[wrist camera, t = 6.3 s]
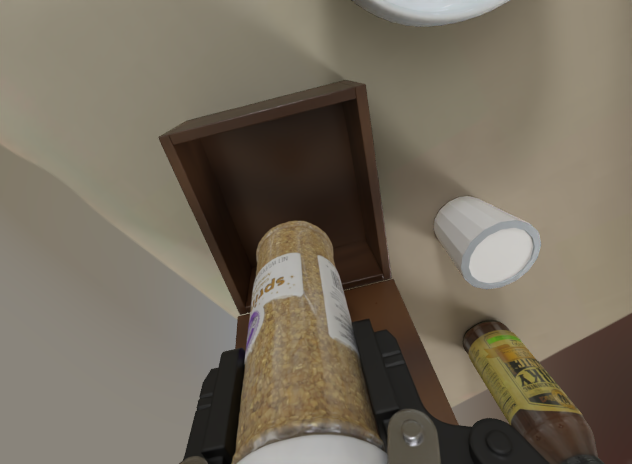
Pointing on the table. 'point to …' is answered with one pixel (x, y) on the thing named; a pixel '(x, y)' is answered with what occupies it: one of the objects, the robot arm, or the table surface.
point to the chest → (285, 181)
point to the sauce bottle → (530, 396)
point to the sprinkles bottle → (303, 360)
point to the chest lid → (392, 315)
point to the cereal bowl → (428, 10)
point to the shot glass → (486, 242)
